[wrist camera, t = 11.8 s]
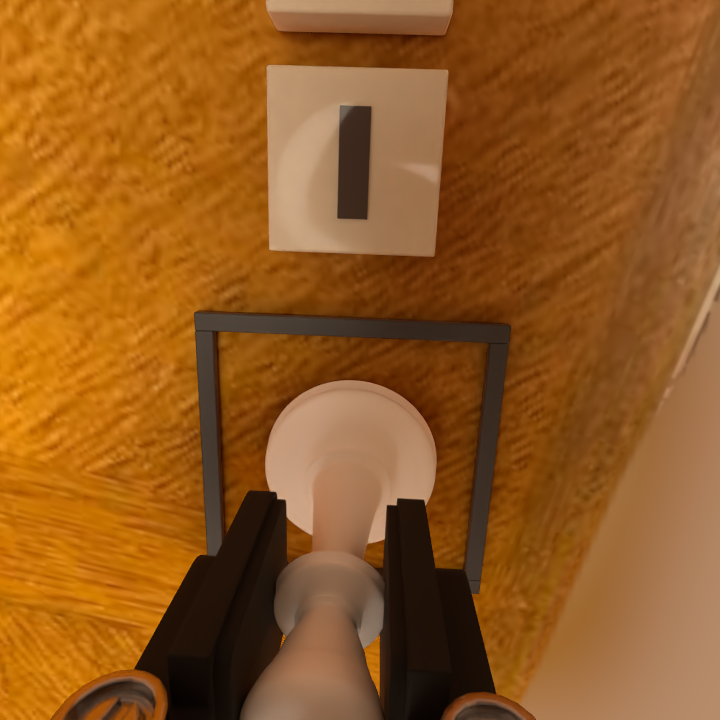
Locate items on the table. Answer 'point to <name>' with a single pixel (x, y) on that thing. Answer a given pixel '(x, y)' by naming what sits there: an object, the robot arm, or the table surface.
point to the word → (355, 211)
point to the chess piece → (336, 543)
